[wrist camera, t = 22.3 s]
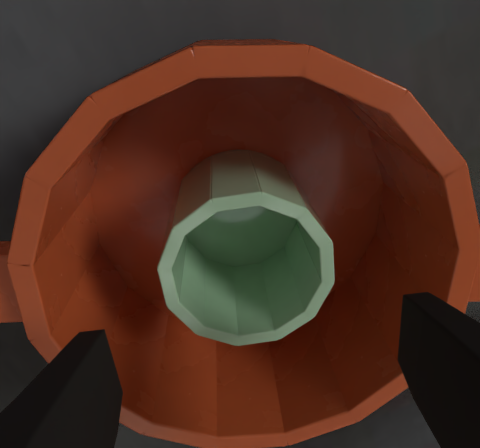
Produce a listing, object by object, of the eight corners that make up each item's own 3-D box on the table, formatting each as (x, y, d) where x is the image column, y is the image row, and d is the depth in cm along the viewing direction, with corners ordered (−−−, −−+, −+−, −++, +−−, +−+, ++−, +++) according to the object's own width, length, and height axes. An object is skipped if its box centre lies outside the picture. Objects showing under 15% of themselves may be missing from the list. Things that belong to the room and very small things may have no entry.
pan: (424, 324, 21) (503, 434, 16) (47, 342, 20) (-18, 465, 15) (487, 35, 16) (647, 39, 10) (-30, 42, 15) (-186, 51, 9)
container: (228, 290, 19) (232, 370, 15) (145, 204, 17) (121, 266, 13) (328, 221, 18) (366, 285, 14) (251, 120, 16) (267, 156, 12)
